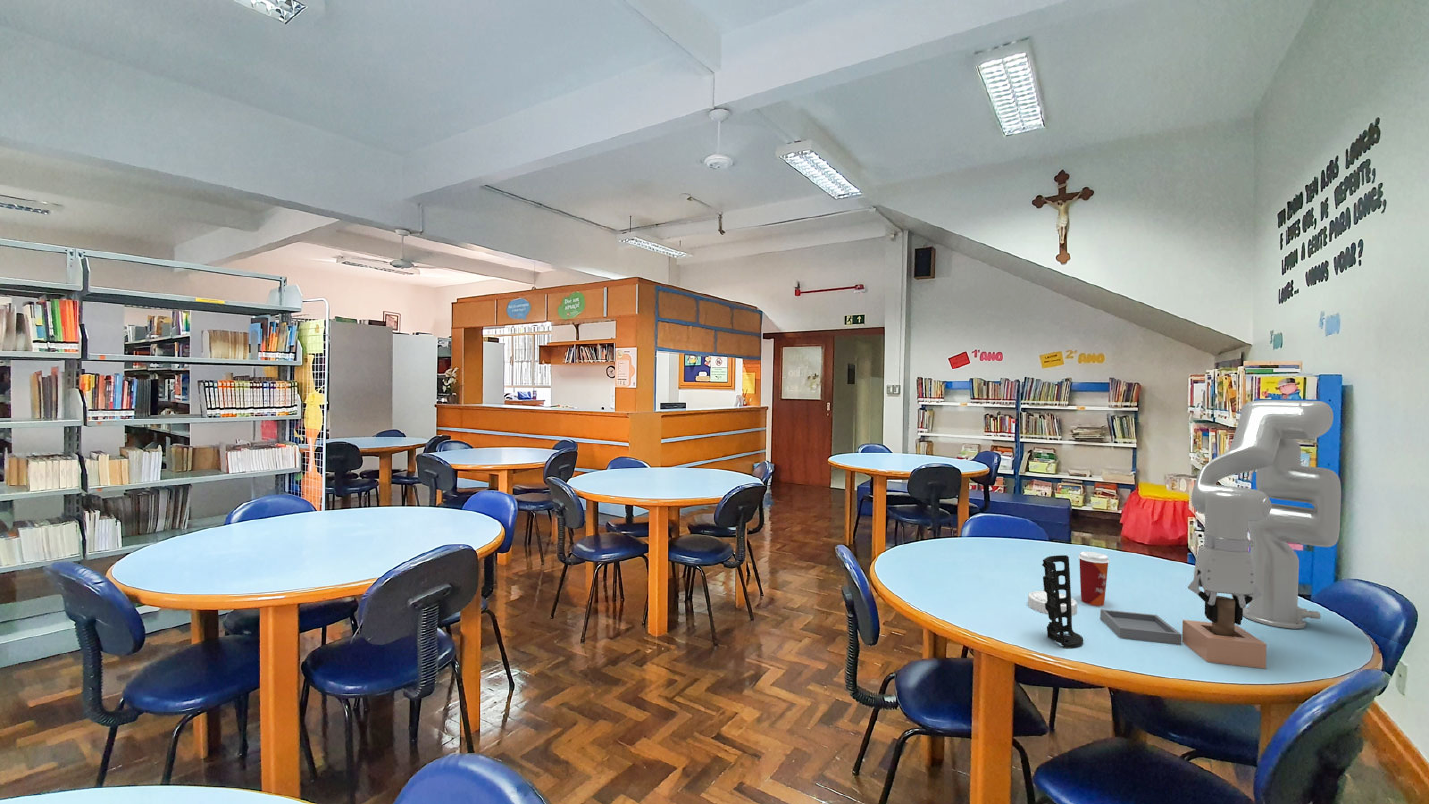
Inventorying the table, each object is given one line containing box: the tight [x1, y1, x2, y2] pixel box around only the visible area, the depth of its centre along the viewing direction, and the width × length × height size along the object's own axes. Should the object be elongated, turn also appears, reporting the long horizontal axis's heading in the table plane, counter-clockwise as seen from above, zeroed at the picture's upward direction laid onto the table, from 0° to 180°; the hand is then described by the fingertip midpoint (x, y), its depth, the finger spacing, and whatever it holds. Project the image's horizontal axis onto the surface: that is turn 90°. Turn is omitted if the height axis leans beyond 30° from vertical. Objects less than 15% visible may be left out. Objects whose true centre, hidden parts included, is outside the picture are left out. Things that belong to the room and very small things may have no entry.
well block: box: [1181, 619, 1267, 670], centre depth 135 cm, size 11×11×6 cm
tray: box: [1099, 609, 1183, 646], centre depth 148 cm, size 13×13×2 cm
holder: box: [1041, 554, 1084, 649], centre depth 142 cm, size 11×8×20 cm
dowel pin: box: [1211, 595, 1236, 637], centre depth 135 cm, size 4×4×12 cm
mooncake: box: [1027, 590, 1078, 616], centre depth 163 cm, size 12×12×4 cm
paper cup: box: [1077, 551, 1110, 607], centre depth 169 cm, size 8×8×14 cm
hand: (1223, 620), depth 135 cm, fingers closed on dowel pin, 4 cm apart
